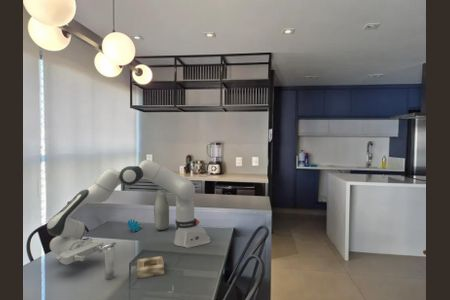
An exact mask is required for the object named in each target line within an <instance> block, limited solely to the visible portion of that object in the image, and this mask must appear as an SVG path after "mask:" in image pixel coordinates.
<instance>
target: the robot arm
mask: <svg viewBox="0 0 450 300" xmlns="http://www.w3.org/2000/svg"><path fill="white" fill-rule="evenodd" d="M141 179H145V180H147V181H150V182H151V183H153V184H155V185H157V186H159V187H162V188H163V189H165V191H166V190H167V191H168V192H169V193H171V194H172V195H175V217H176V219H175V222H174V223H175V226H174V227H175V233H174V234H175V236H174V238H173V239H174V240H173V245H176V246H177V247H183V248H185V249H186V248H187V249H188V248H193V247H197V246H198V247H199V246H202V245H208V244H210V243H211V237H210V236H209V235H208V234H207V231H206V230H205V228H204V227H203V226H201V225H199V224H200V220H198V219H197V218H195V202H194V200H195V199H194V195H195V193H196V187H195V185H194V184H193V183H194V182H192V180H191V179H189V178H188V177H183V176H181V175H179V174H178V173H176V172H174V171H173V170H170V169H169V168H167V167H165V166H163V165H161V164H159V163H157V162H155V161H151V160H148V159H145V160H142V161H141V162H140V163H139V164H138V165H136V166H135V165H133V166H126V167H123V168H122V169H121V170H119V171H118V170H116V169H113V168H107V169H105V170H104V171H103V172H102V173H101V174H100V175H99V176H98V177H97V179H96V180H95V181H94V182H93V183H92V185H90V187H88V188H86V189H82V190H80V191H79V192H78V193H77V194H76V195H75V196H74V197H73V198H72V199H71V200H70V201H69V202H68V203H66V204H65V206H64V207H63V208H62V209H60V211H59V212H58V213H56V214H55V215H53V216H52V217H51V218H50V219H49V220H48V222H47V224H46V231H47V234H49V235H50V236H53V238H52V239H51V240H50V242H49V249H50V251H51V252H52V253H54V254H56V256H55V260H57V261H59V263H61V264H62V265H70V264H73V263H74V262H77V261H80V262H83V261H86V257H88V256H91V255H92V254H95V253H98V254H102V253H103V252H104V250H102V247H104V246H105V244H104V242H103V241H102V240H99V239H95V238H94V239H93V238H92V237H86V238H83V237H84V235H85V233H86V225H85V223H84V222H83V221H80V220H77V219H75V218H74V219H73V218H70V217H72V216H73V214H75V212H76V211H77V210H78V209H80V207H81V206H83V205H86V204H99V203H103V202H106V201H107V200H108V199H109V198H111V195H112V194H113V193H114V192H115V190H116V188H117V187H119V185H124V186H127V187H132V186H133V187H134V186H135V185H137V184H138V183H139V181H141Z"/></svg>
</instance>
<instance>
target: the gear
mask: <svg viewBox="0 0 450 300" xmlns="http://www.w3.org/2000/svg"><path fill="white" fill-rule="evenodd" d="M126 224H127V228H129V230H128V231H132V232H136V233H137V232H139V231H140V230H141V222H139V223H138V220H136V219H132V218H131V219H129V220H128V221H127V223H126Z"/></svg>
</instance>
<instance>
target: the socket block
mask: <svg viewBox="0 0 450 300" xmlns="http://www.w3.org/2000/svg"><path fill="white" fill-rule="evenodd" d="M136 261H137V262H136V263H137V264H136V265H137V266H136V268H137V270H136V271H137V273H136V274H137V275H136V276H137V279H141V278H147V277H154V275H155V276H159V275H165V263H164V259H163V255H159V256H152V257H145V258H138V259H136Z"/></svg>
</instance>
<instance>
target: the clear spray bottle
mask: <svg viewBox="0 0 450 300" xmlns="http://www.w3.org/2000/svg"><path fill="white" fill-rule="evenodd" d="M116 245H117V242H116V241H113V242H111V243H109V244H107V245H104V247H102V250H103V251H104V280H107V281H109V280H113V279H114V278H115V277H116V276H115V275H116V273H115V246H116Z"/></svg>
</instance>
